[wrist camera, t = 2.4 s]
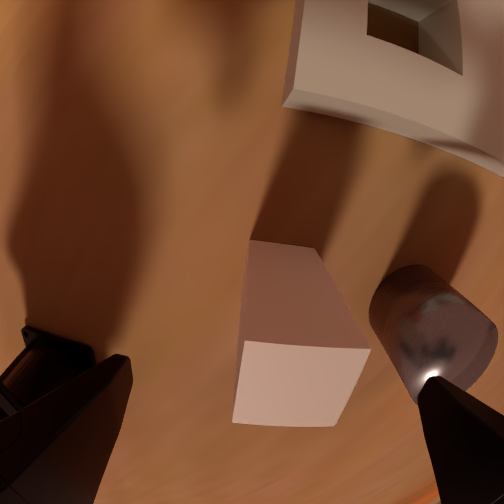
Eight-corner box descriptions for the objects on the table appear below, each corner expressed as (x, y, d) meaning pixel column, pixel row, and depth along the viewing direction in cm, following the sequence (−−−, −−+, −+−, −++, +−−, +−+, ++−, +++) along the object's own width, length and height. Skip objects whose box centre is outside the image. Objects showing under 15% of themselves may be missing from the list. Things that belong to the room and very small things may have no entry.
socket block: (281, 106, 12) (293, 88, 8) (302, -48, 9) (314, -90, 5) (516, 183, 13) (558, 196, 9) (518, 53, 9) (555, 47, 6)
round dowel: (357, 338, 16) (392, 412, 10) (383, 259, 14) (442, 317, 9) (423, 339, 16) (466, 399, 11) (450, 269, 15) (512, 318, 9)
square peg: (241, 298, 15) (231, 422, 8) (249, 239, 14) (244, 340, 7) (301, 305, 15) (334, 426, 8) (314, 248, 14) (371, 348, 7)
